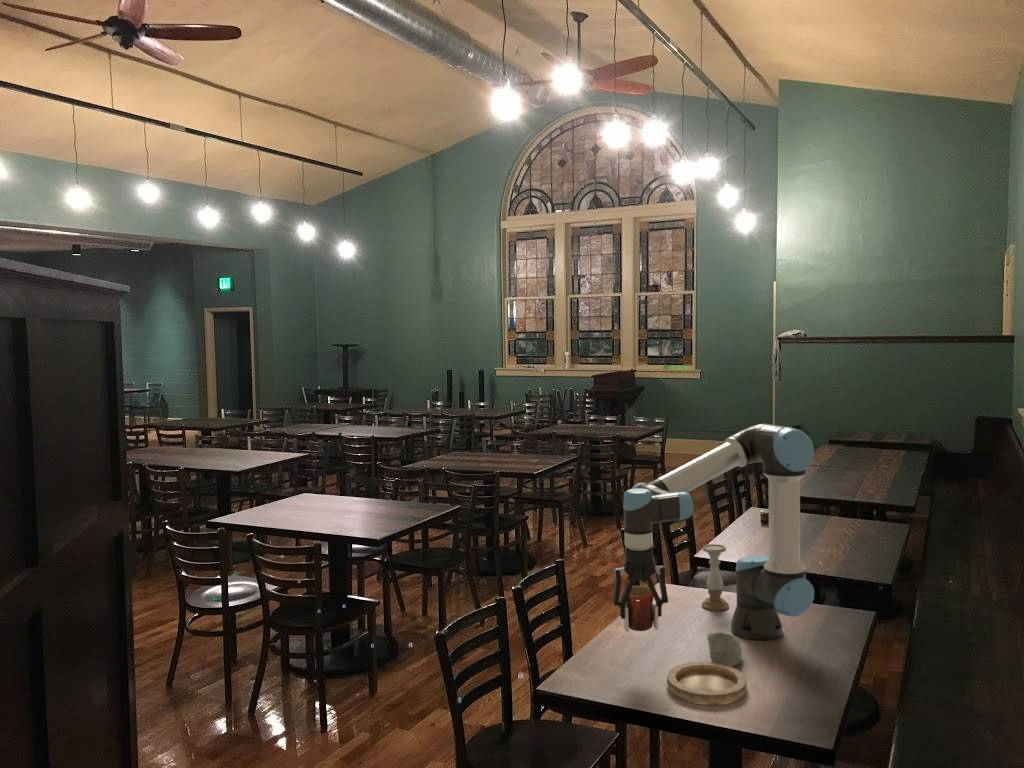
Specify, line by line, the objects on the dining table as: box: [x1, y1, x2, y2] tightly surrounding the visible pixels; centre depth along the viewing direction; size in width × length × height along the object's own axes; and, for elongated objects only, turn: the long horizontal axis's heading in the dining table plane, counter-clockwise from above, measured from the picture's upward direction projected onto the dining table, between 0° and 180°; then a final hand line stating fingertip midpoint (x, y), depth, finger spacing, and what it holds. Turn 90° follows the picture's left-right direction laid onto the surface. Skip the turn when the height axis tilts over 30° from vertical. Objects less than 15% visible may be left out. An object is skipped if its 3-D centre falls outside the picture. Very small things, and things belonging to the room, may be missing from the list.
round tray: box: [666, 661, 748, 707], centre depth 220 cm, size 20×20×3 cm
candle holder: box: [701, 543, 730, 612], centre depth 279 cm, size 9×9×20 cm
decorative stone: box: [706, 631, 743, 668], centre depth 236 cm, size 13×11×10 cm
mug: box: [622, 585, 654, 632], centre depth 228 cm, size 12×9×10 cm
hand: (641, 628), depth 229 cm, fingers closed on mug, 7 cm apart
